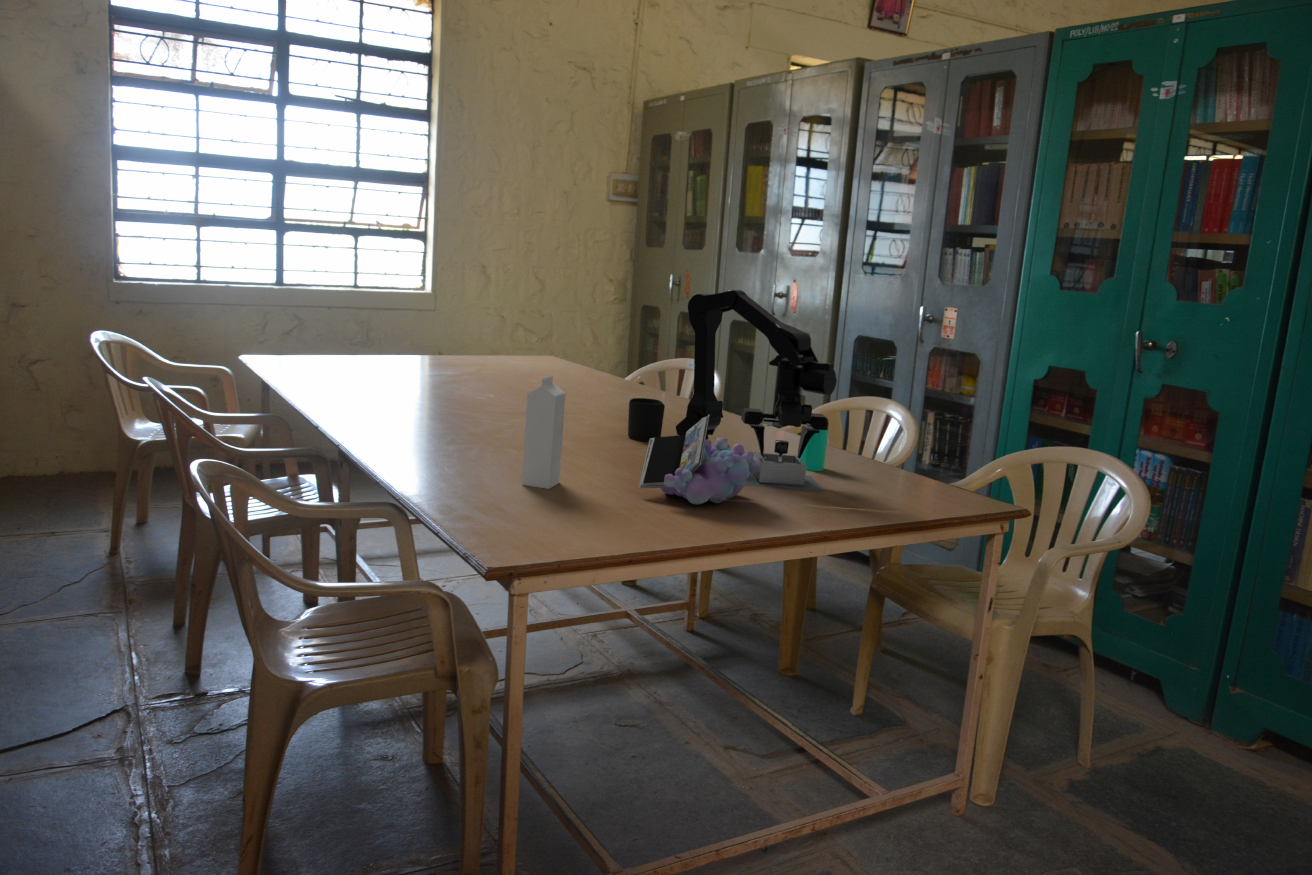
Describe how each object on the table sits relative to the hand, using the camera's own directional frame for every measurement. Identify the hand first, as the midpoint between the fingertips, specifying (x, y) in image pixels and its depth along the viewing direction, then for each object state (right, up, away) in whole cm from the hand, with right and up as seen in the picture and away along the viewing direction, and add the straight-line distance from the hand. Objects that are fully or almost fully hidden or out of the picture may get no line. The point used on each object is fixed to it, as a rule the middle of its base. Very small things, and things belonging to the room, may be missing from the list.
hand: (780, 456), depth 212 cm
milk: (-51, -5, -20) cm, 55 cm away
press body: (-2, -5, +1) cm, 6 cm away
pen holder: (-31, +4, +38) cm, 49 cm away
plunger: (0, -5, +1) cm, 5 cm away
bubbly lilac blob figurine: (-19, -8, -21) cm, 30 cm away
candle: (+10, -4, +17) cm, 20 cm away
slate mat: (-1, -6, +1) cm, 6 cm away
